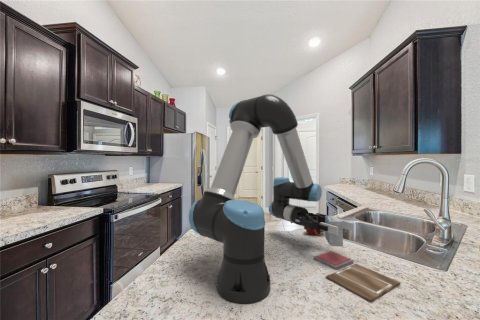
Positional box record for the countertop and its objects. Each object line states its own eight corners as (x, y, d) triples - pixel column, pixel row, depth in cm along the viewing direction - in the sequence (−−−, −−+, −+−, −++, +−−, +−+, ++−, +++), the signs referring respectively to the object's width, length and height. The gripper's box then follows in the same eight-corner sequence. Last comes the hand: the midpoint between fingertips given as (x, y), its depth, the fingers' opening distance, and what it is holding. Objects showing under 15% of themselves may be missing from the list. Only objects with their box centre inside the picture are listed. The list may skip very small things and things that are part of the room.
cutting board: (370, 302, 52) (370, 299, 52) (326, 278, 63) (326, 275, 63) (400, 284, 60) (400, 281, 60) (356, 265, 72) (356, 263, 72)
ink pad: (335, 270, 68) (335, 266, 68) (313, 259, 76) (313, 255, 76) (353, 263, 73) (353, 259, 73) (330, 253, 81) (330, 250, 81)
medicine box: (343, 247, 71) (343, 221, 71) (329, 246, 72) (329, 220, 72) (337, 238, 79) (337, 215, 79) (324, 237, 80) (324, 215, 80)
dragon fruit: (327, 237, 104) (305, 242, 102) (318, 223, 111) (297, 227, 109) (332, 226, 99) (309, 231, 97) (322, 212, 106) (300, 217, 104)
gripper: (312, 220, 96) (363, 234, 77) (277, 227, 85) (325, 246, 66) (312, 203, 96) (362, 214, 77) (277, 208, 85) (325, 222, 66)
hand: (345, 229), depth 71 cm, fingers closed on medicine box, 8 cm apart
